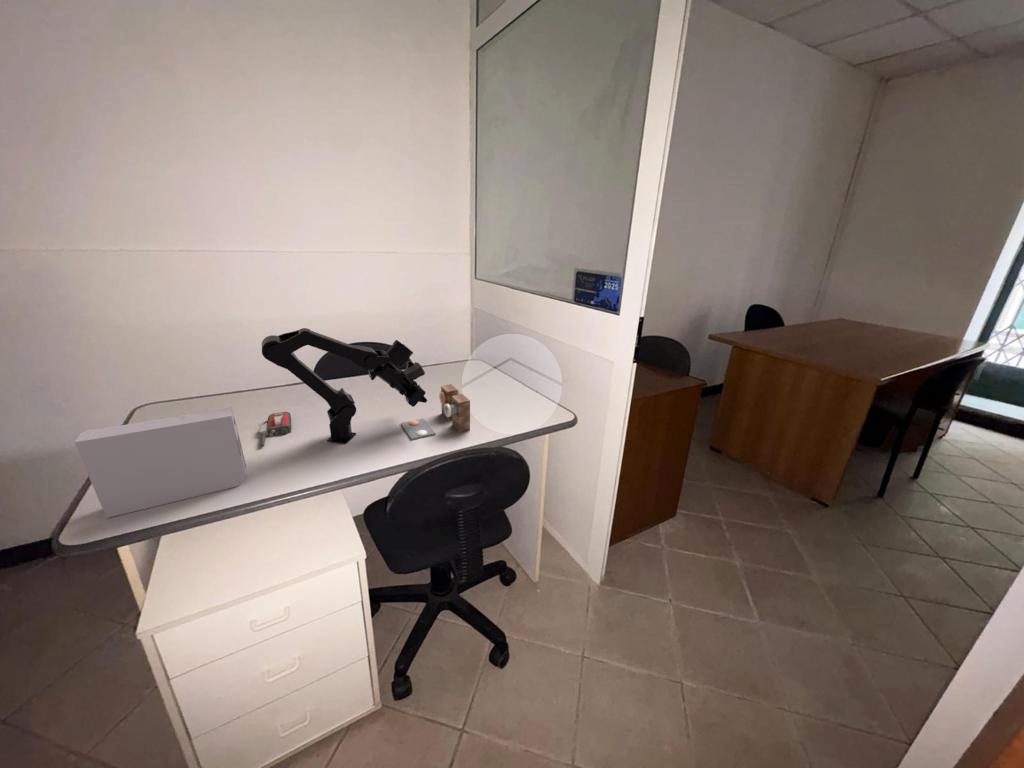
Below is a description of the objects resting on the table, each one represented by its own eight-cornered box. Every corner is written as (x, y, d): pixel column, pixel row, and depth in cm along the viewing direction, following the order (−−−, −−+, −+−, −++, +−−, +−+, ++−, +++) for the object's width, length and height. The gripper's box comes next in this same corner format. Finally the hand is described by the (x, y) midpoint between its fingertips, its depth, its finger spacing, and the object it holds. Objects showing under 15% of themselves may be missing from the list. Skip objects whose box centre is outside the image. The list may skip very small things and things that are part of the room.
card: (411, 440, 127) (411, 438, 127) (400, 424, 137) (400, 422, 137) (435, 434, 131) (435, 432, 131) (423, 419, 141) (423, 417, 140)
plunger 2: (449, 419, 131) (448, 407, 129) (444, 413, 134) (443, 402, 132) (467, 415, 134) (467, 403, 132) (462, 410, 137) (462, 398, 136)
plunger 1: (444, 406, 139) (443, 394, 138) (439, 401, 143) (439, 390, 141) (461, 402, 143) (461, 391, 141) (456, 398, 146) (456, 387, 145)
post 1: (447, 420, 141) (447, 391, 137) (441, 413, 146) (440, 385, 142) (458, 417, 143) (458, 389, 139) (451, 411, 148) (451, 384, 144)
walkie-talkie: (262, 421, 135) (258, 450, 119) (260, 410, 134) (256, 437, 117) (291, 417, 139) (292, 444, 123) (289, 406, 137) (289, 432, 121)
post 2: (459, 432, 133) (458, 402, 129) (452, 424, 138) (451, 396, 134) (470, 429, 135) (470, 400, 131) (462, 422, 140) (462, 394, 136)
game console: (112, 504, 94) (82, 430, 87) (248, 472, 108) (232, 406, 100) (106, 518, 90) (73, 442, 82) (248, 484, 103) (231, 415, 96)
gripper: (418, 365, 122) (451, 393, 131) (400, 349, 136) (432, 375, 146) (393, 393, 121) (429, 419, 130) (379, 374, 135) (412, 398, 145)
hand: (426, 401), depth 138 cm, fingers closed
